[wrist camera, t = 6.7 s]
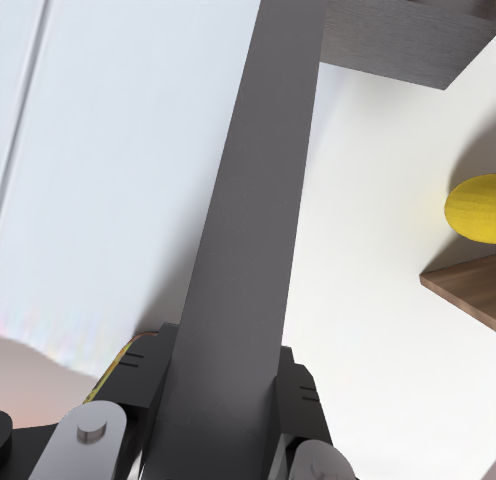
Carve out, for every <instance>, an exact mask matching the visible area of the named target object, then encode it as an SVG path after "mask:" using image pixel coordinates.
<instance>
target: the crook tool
mask: <svg viewBox="0 0 496 480" xmlns="http://www.w3.org/2000/svg"><path fill="white" fill-rule="evenodd" d="M495 36H496V0H261V2H260V6H259V10H258V14H257V18H256V22H255V26H254V30H253V34H252V38H251V42H250V46H249V50H248V54H247V58H246V62H245V66H244V70H243V74H242V78H241V82H240V86H239V90H238V94H237V98H236V102H235V106H234V110H233V114H232V118H231V122H230V126H229V130H228V134H227V138H226V142H225V146H224V150H223V154H222V158H221V162H220V166H219V170H218V174H217V178H216V182H215V186H214V190H213V194H212V198H211V202H210V206H209V210H208V214H207V218H206V222H205V226H204V230H203V234H202V238H201V242H200V246H199V250H198V254H197V258H196V262H195V266H194V269H193V273H192V277H191V281H190V285H189V289H188V293H187V297H186V301H185V305H184V309H183V313H182V317H181V321H180V325H179V329H178V333H177V337H176V341H175V345H174V349H173V353H172V357H171V361H170V365H169V369H168V373H167V377H166V381H165V385H164V389H163V393H162V397H161V401H160V405H159V409H158V413H157V417H156V421H155V425H154V429H153V433H152V437H151V441H150V445H149V449H148V453H147V457H146V461H145V465H144V469H143V473H142V477H141V480H260V479H261V472H262V465H263V458H264V451H265V443H266V436H267V429H268V422H269V415H270V408H271V401H272V394H273V387H274V379H275V376H277V371H278V364H279V357H280V349H281V342H282V335H283V327H284V320H285V312H286V305H287V298H288V290H289V283H290V276H291V268H292V261H293V254H294V246H295V239H296V231H297V224H298V217H299V209H300V202H301V195H302V187H303V180H304V173H305V165H306V158H307V150H308V143H309V136H310V128H311V121H312V114H313V106H314V99H315V92H316V84H317V77H318V69H319V62H324V63H328V64H332V65H337V66H341V67H345V68H350V69H354V70H358V71H363V72H367V73H371V74H376V75H380V76H384V77H389V78H393V79H397V80H402V81H406V82H410V83H415V84H419V85H423V86H428V87H432V88H436V89H441V90H445V89H446V88H447V87H448V86H449V85H450V84H451V83H452V82H453V81H454V80H455V78H456V77H457V76H458V75H459V74H460V73H461V72H462V71H463V70H464V69H465V68H466V67H467V66H468V65H469V64H470V62H471V61H472V60H473V59H474V58H475V57H476V56H477V55H478V54H479V53H480V52H481V51H482V50H483V49H484V47H485V46H486V45H487V44H488V43H489V42H490V41H491V40H492V39H493V38H494V37H495Z"/></svg>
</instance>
